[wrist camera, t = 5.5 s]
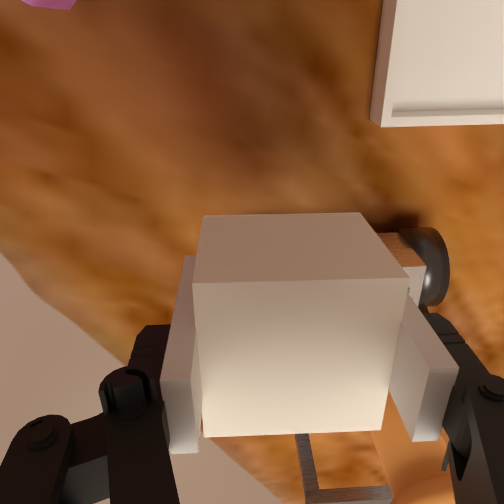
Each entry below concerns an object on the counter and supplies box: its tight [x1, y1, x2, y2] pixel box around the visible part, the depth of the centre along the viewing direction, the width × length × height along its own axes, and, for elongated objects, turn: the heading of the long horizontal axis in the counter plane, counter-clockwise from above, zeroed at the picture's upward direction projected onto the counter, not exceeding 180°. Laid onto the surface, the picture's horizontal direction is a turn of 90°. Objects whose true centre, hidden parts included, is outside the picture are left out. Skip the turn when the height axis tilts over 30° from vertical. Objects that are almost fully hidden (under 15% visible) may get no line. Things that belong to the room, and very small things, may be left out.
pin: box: [370, 390, 455, 504], centre depth 22 cm, size 4×4×14 cm
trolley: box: [295, 227, 450, 504], centre depth 28 cm, size 12×14×16 cm
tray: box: [369, 0, 504, 127], centre depth 25 cm, size 11×11×2 cm
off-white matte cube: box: [192, 212, 410, 437], centre depth 15 cm, size 6×6×5 cm
